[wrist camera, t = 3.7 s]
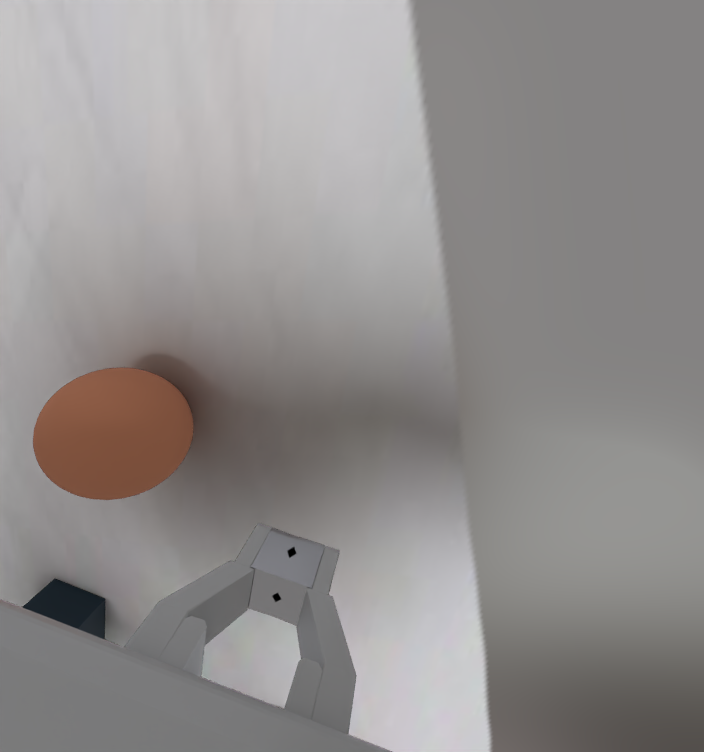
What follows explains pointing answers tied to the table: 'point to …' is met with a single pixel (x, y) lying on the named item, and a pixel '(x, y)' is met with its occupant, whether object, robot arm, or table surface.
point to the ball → (113, 433)
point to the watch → (70, 607)
